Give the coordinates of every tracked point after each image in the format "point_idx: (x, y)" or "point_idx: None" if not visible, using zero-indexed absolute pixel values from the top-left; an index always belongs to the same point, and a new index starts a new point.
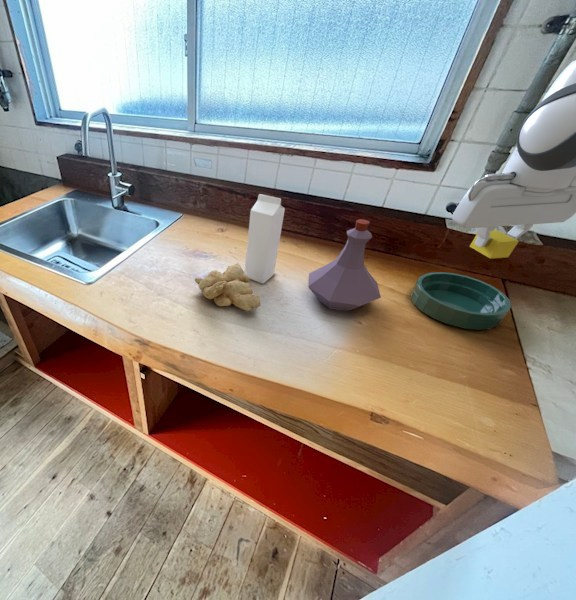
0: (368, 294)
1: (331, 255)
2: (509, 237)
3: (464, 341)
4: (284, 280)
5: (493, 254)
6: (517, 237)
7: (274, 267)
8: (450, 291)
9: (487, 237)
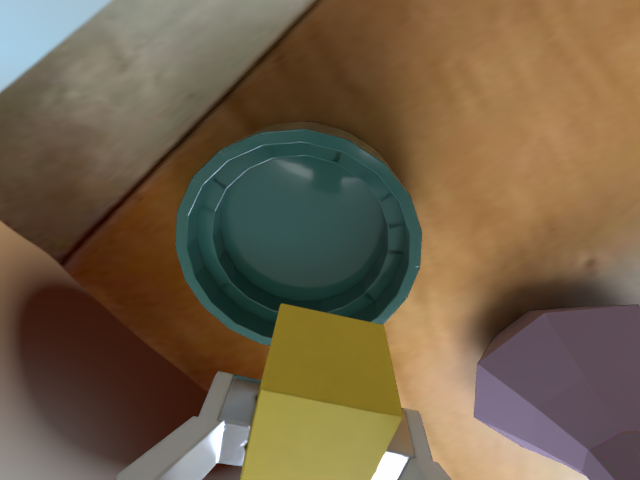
0: (598, 332)
1: None
2: (267, 432)
3: (417, 109)
4: None
5: (385, 342)
6: (206, 416)
7: None
8: (249, 279)
9: (440, 476)
